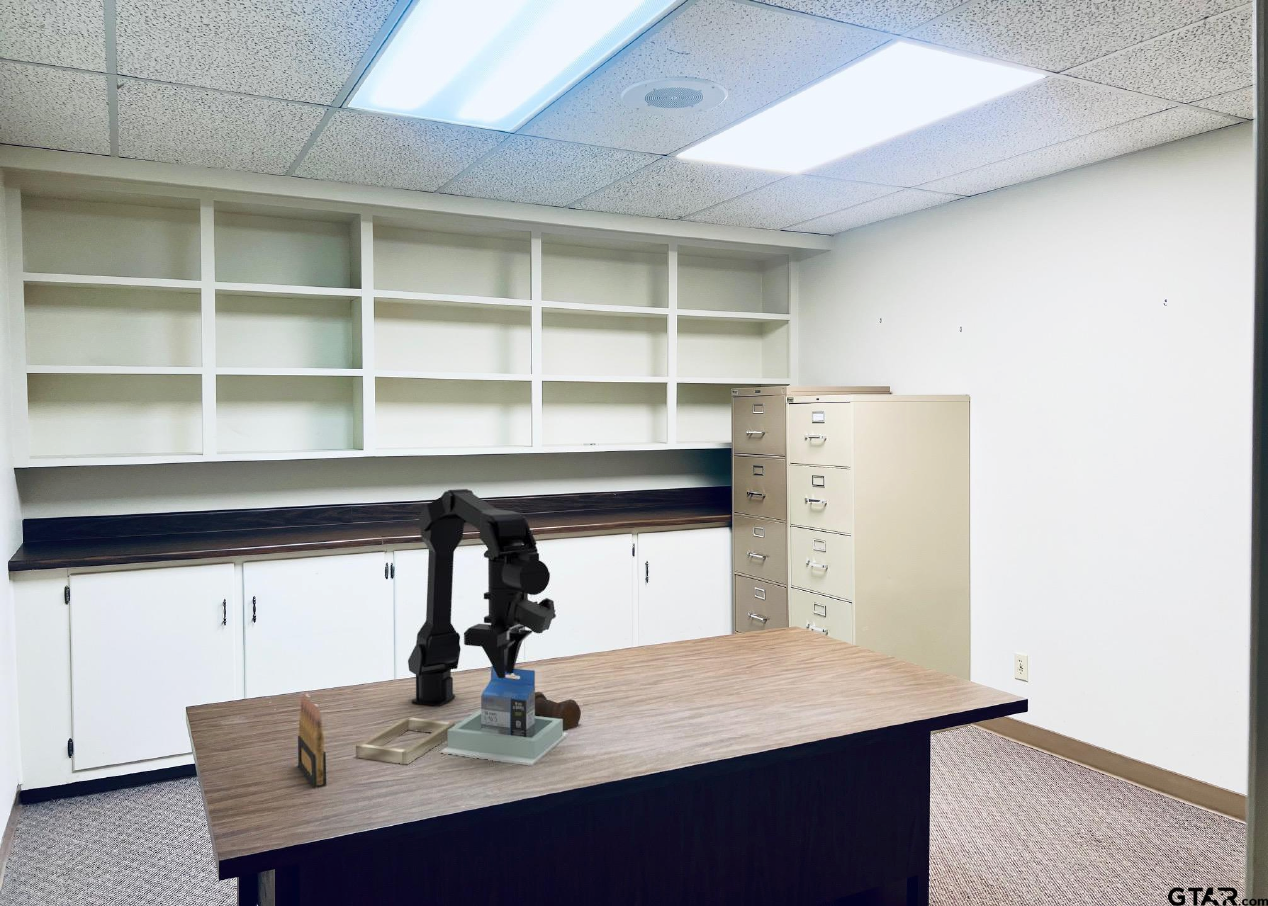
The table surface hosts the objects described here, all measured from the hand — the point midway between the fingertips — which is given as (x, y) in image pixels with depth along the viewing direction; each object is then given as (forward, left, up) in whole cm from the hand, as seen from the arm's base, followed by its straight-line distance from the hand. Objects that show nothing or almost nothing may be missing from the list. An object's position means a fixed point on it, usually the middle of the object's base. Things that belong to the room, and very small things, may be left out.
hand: (505, 675), depth 152 cm
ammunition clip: (-23, -22, -12) cm, 34 cm away
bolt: (+1, +14, -12) cm, 19 cm away
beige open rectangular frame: (-16, -6, -12) cm, 21 cm away
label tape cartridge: (0, 0, -12) cm, 12 cm away
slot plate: (0, 0, -12) cm, 12 cm away
